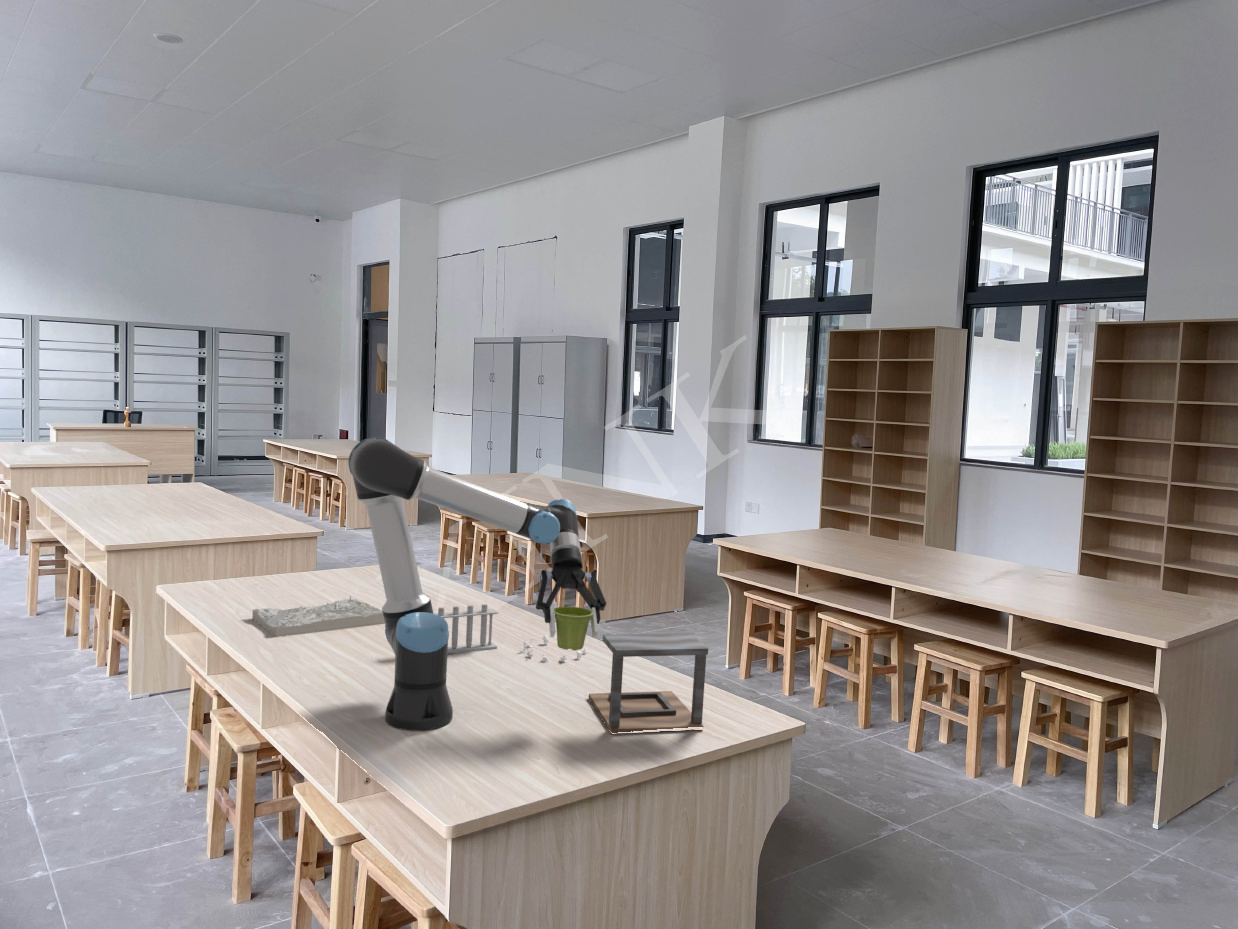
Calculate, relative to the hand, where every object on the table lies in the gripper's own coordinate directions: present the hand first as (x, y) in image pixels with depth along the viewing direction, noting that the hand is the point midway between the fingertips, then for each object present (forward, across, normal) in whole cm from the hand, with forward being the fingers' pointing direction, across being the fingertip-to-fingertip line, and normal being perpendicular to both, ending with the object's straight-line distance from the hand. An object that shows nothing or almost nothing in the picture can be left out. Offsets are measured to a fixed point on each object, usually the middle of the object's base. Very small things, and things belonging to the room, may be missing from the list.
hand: (574, 634), depth 206 cm
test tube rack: (-26, +22, -56) cm, 66 cm away
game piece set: (-23, -7, -53) cm, 58 cm away
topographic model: (-50, +62, -82) cm, 114 cm away
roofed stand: (+13, -19, -16) cm, 28 cm away
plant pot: (+1, 0, -5) cm, 5 cm away
